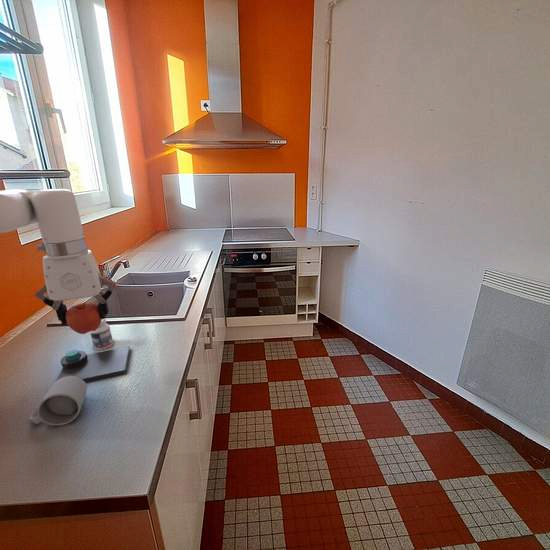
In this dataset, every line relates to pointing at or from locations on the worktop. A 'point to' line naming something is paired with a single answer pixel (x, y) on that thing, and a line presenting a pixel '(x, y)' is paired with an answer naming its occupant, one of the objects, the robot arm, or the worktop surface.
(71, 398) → the ceramic mug
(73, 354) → the tare button
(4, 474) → the worktop surface
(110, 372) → the scale
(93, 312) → the apple
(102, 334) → the pill bottle
